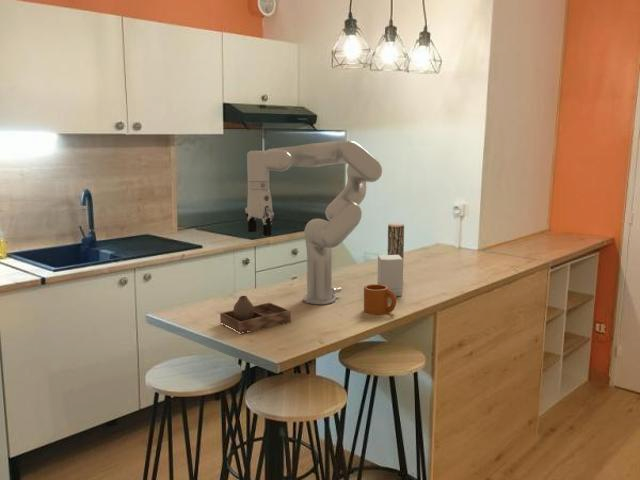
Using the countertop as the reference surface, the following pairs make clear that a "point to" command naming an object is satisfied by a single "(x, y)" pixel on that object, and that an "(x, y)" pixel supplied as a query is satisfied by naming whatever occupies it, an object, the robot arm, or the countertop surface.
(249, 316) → the vase
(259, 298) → the countertop surface
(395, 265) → the supplement box
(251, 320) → the divided wooden tray
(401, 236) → the bark covered log
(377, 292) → the mug
